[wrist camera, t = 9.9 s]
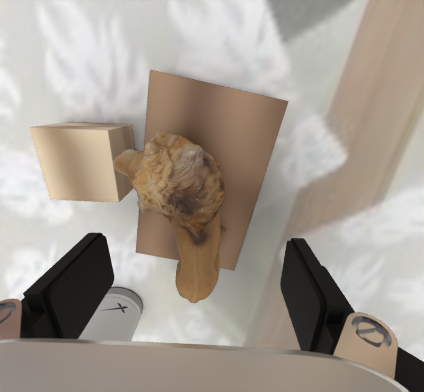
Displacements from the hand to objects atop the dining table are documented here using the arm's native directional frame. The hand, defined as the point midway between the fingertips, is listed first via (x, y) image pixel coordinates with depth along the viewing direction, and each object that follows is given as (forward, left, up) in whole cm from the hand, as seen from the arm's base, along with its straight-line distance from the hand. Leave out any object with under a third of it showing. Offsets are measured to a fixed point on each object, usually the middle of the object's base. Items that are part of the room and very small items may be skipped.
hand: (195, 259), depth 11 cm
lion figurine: (+1, +1, -8) cm, 8 cm away
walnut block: (0, -1, -13) cm, 13 cm away
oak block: (+10, -3, -13) cm, 17 cm away
